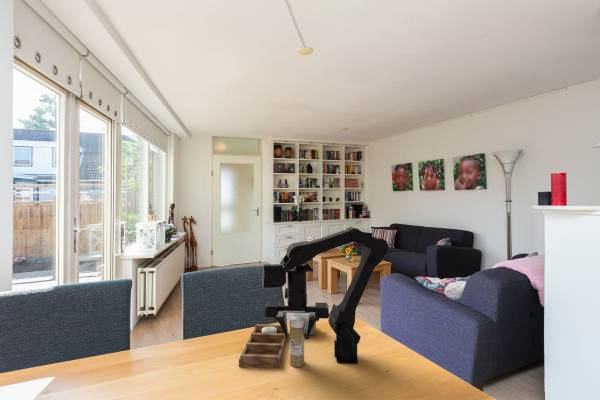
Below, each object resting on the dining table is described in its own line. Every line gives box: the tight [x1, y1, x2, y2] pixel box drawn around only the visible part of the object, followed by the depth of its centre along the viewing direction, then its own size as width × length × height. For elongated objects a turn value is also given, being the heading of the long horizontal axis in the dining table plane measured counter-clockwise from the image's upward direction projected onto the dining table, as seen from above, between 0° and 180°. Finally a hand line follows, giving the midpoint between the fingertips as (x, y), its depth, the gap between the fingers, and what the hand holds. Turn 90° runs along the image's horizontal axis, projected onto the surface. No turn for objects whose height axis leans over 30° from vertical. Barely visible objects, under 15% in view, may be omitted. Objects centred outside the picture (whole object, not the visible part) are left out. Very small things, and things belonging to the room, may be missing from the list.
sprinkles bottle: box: [288, 315, 305, 368], centre depth 89 cm, size 5×5×14 cm
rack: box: [238, 323, 289, 369], centre depth 99 cm, size 12×23×3 cm, turn 176°
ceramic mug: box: [292, 313, 317, 335], centre depth 111 cm, size 11×8×8 cm
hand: (297, 338), depth 89 cm, fingers open, 6 cm apart
